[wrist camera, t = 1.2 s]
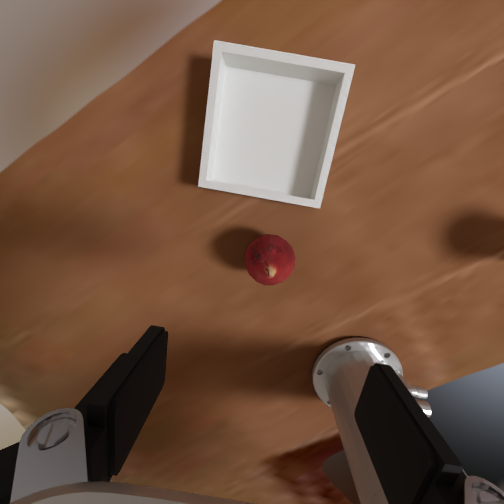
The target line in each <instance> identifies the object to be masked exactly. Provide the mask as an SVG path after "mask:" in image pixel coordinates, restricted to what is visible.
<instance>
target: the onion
mask: <svg viewBox="0 0 504 504" xmlns="http://www.w3.org/2000/svg"><path fill="white" fill-rule="evenodd" d="M294 265H295V255H294V252H293V248H292V247H291V245H290V244H289V243H288V242H287V241H286V240H284V239H283V238H281V237H279V236H277V235H269V234H267V235H263V236H259V237H257V238H256V239H255V240H254V241H253V242H251V243H250V244H249V246H248V248H247V250H246V253H245V266H246V268H247V271H248V273H249V275H250V276H251V277H252V278H253V279H254V280H255V281H257V282H259V283H261V284H263V285H275V284H278V283H281V282H283V281H284V280H285V279H286V278H288V277H289V276H290V274H291V272H292V271H293V269H294Z"/></svg>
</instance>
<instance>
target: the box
mask: <svg viewBox="0 0 504 504" xmlns="http://www.w3.org/2000/svg"><path fill="white" fill-rule="evenodd" d="M354 69H355V64H349V63H343V62H337V61H332V60H326V59H320V58H314V57H309V56H303V55H297V54H292V53H286V52H280V51H274V50H269V49H263V48H257V47H251V46H246V45H240V44H234V43H228V42H223V41H217V40H214V45H213V54H212V63H211V73H210V82H209V91H208V100H207V109H206V118H205V128H204V137H203V146H202V155H201V164H200V174H199V183H198V187H203V188H209V189H215V190H220V191H226V192H231V193H237V194H242V195H248V196H253V197H259V198H264V199H270V200H275V201H281V202H287V203H292V204H298V205H303V206H309V207H314V208H320V206H321V202H322V198H323V194H324V190H325V186H326V182H327V178H328V174H329V170H330V166H331V162H332V158H333V154H334V150H335V145H336V141H337V137H338V133H339V129H340V125H341V121H342V117H343V113H344V109H345V105H346V101H347V97H348V93H349V89H350V85H351V81H352V77H353V73H354Z"/></svg>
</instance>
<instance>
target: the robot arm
mask: <svg viewBox="0 0 504 504" xmlns="http://www.w3.org/2000/svg"><path fill="white" fill-rule="evenodd" d="M167 342H168V332H167V331H165V329H164V327H158V326H150V327H149V328H148V330H147V331H146V332H145V333H144V334H143V336H142V337H141V338H140V339H139V341H138V342H137V343H136V344H135V345H134V347H133V348H132V349H131V350H130V351H129V353H128V354H127V353H123V354H121V355H120V356H119V357H118V358H117V359H116V361H115V362H114V363H113V364H112V365H111V366H110V368H109V369H108V370H107V371H106V372H105V373H104V374H103V376H102V377H101V378H100V379H99V380H98V381H97V383H96V384H95V385H94V386H93V387H92V388H91V390H90V391H89V392H88V393H87V394H86V395H85V396H84V398H83V399H82V400H81V401H80V402H79V403H78V405H77V406H76V407H75V408H74V409H73V408H62V409H58V410H54V411H52V412H50V413H47V414H45V415H43V416H42V417H40V418H39V419H37V420H36V421H35V422H34V423H33V424H31V425H30V426H29V427H28V428H27V430H26V431H25V433H24V434H23V435H22V437H21V440H20V442H18V443H16V444H13V445H11V446H9V447H7V448H5V449H2V450H0V504H256V503H250V502H244V501H238V500H232V499H226V498H220V497H214V496H207V495H201V494H195V493H189V492H183V491H177V490H170V489H163V488H156V487H149V486H142V485H135V484H128V483H116V482H109V481H110V479H111V477H112V475H115V476H116V475H117V474H118V473H119V472H120V470H121V468H122V466H123V464H124V462H125V460H126V458H127V456H128V454H129V452H130V450H131V448H132V446H133V444H134V442H135V440H136V438H137V436H138V435H139V433H140V431H141V429H142V427H143V425H144V423H145V421H146V419H147V417H148V415H149V413H150V411H151V409H152V407H153V405H154V403H155V401H156V399H157V397H158V395H159V393H160V391H161V389H162V387H163V385H164V381H165V371H166V356H167ZM312 380H313V385H314V388H315V391H316V393H317V395H318V396H319V398H320V399H321V400H322V401H323V402H324V403H325V404H326V405H328V406H329V407H331V408H332V411H333V414H334V418H335V421H336V424H337V428H338V431H339V434H340V437H341V441H342V444H343V447H344V450H345V453H346V457H347V460H348V463H349V466H350V470H351V473H352V476H353V480H354V483H355V486H356V489H357V493H358V496H359V499H360V502H361V504H504V492H503V491H502V490H500V489H499V488H498V487H496V486H495V485H494V484H492V483H490V482H488V481H487V480H485V479H482V478H480V477H477V476H469V477H468V476H467V475H466V473H465V472H464V471H463V468H464V466H463V465H462V464H461V462H460V461H459V459H458V458H457V457H456V455H455V454H454V453H453V451H452V450H451V449H450V447H449V446H448V444H447V443H446V441H445V440H444V439H443V437H442V436H441V435H440V434H439V432H438V430H437V429H436V428H435V426H434V425H433V423H432V422H431V421H430V419H429V418H428V417H430V416H431V407H430V406H429V404H428V403H427V402H426V401H422V400H416V399H414V397H413V396H415V397H418V398H424V399H426V398H427V396H428V394H427V390H426V389H425V388H424V387H419V386H411V385H409V384H408V383H407V382H406V380H405V379H404V378H403V370H402V366H401V364H400V362H399V360H398V358H397V357H396V355H395V354H394V353H393V352H392V351H391V350H390V349H389V348H388V347H387V346H386V345H384V344H382V343H381V342H378V341H376V340H373V339H368V338H348V339H344V340H341V341H338V342H336V343H334V344H332V345H330V346H329V347H328V348H326V349H325V350H324V351H323V352H322V353H321V354H320V355H319V356H318V358H317V360H316V361H315V364H314V366H313V371H312Z"/></svg>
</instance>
